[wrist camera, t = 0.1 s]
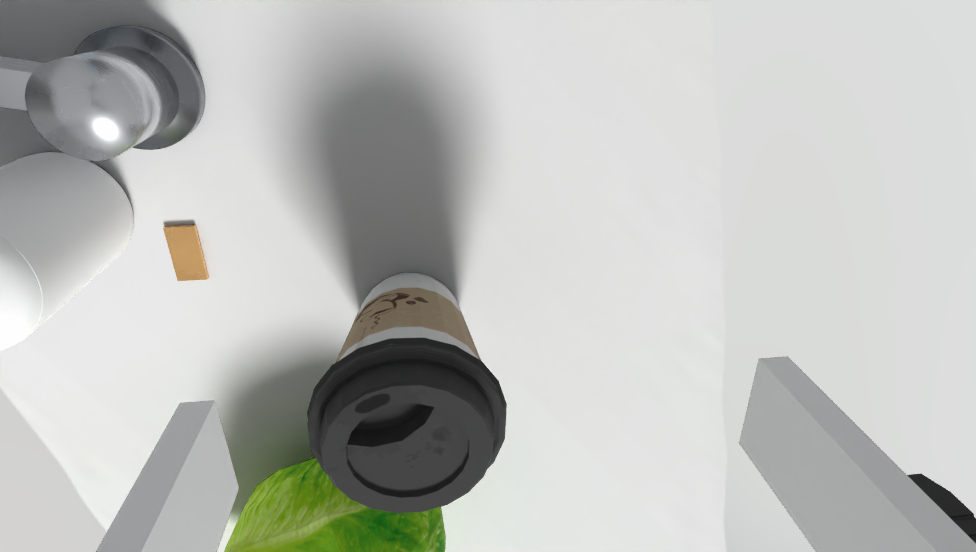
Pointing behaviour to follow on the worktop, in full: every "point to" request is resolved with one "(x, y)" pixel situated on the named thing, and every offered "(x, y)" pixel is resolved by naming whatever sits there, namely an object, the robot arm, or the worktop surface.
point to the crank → (92, 99)
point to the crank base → (189, 114)
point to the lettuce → (327, 519)
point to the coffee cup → (407, 402)
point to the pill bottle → (54, 236)
